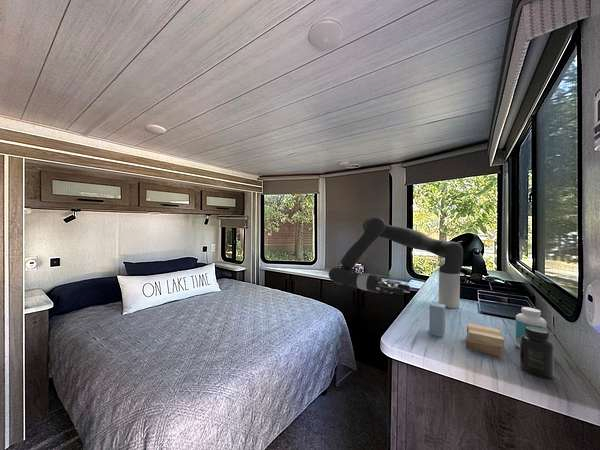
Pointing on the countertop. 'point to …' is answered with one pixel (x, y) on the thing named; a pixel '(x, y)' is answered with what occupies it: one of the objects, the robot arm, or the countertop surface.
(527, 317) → the pill bottle
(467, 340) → the tower base
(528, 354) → the supplement bottle
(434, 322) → the pillar
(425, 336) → the countertop surface
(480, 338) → the tower top
